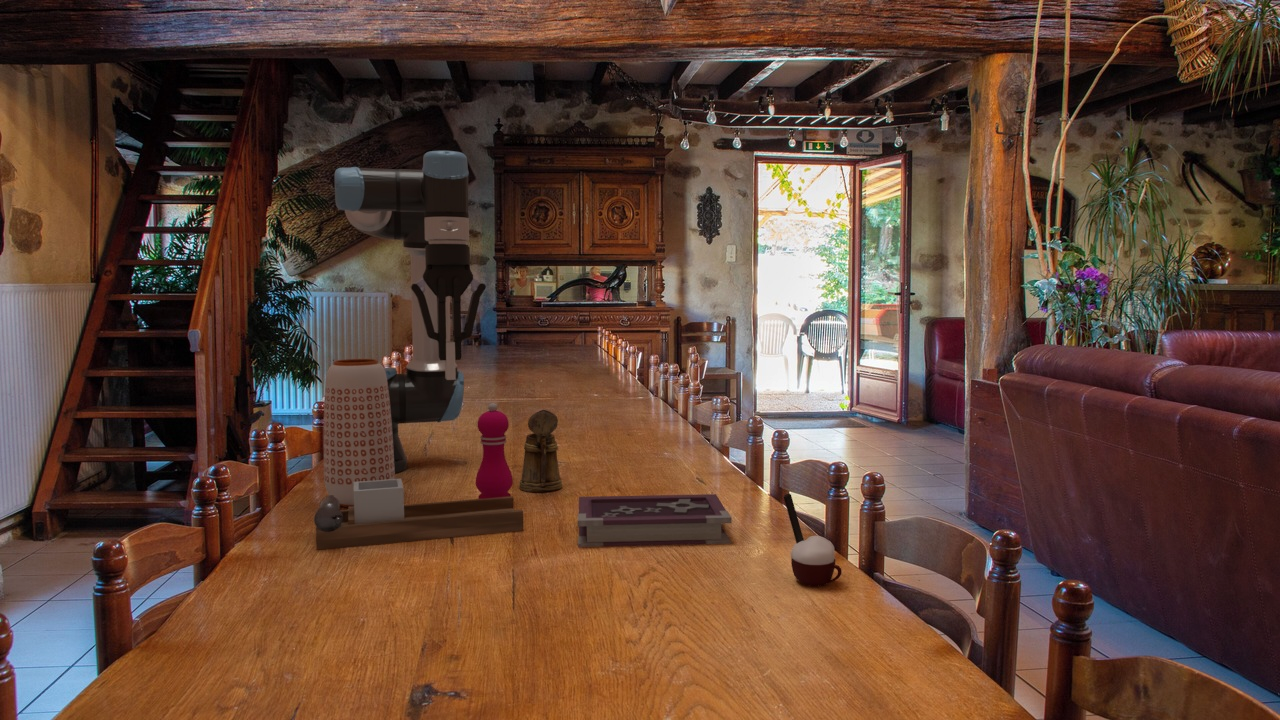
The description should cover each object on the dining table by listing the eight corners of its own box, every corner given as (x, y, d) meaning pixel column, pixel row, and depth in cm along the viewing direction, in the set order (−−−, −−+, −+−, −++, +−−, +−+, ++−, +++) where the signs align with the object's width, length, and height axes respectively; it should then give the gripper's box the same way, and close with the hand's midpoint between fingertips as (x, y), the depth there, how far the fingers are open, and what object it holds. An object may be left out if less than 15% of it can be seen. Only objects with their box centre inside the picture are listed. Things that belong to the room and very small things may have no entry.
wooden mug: (522, 499, 174) (520, 410, 172) (518, 483, 187) (516, 401, 185) (566, 497, 176) (565, 408, 174) (559, 481, 189) (558, 399, 187)
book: (578, 550, 142) (577, 520, 142) (578, 523, 158) (578, 496, 158) (731, 547, 144) (731, 517, 143) (716, 520, 160) (716, 493, 159)
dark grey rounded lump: (317, 524, 151) (316, 492, 150) (344, 522, 152) (343, 490, 152) (314, 545, 139) (313, 510, 139) (343, 542, 140) (342, 508, 140)
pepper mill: (505, 509, 166) (503, 406, 164) (470, 507, 168) (467, 405, 166) (518, 500, 173) (516, 400, 171) (484, 498, 175) (482, 399, 173)
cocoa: (847, 591, 123) (853, 509, 122) (809, 596, 121) (815, 512, 119) (809, 568, 132) (815, 491, 130) (774, 572, 129) (779, 493, 128)
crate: (355, 521, 152) (353, 481, 151) (402, 517, 154) (401, 478, 154) (355, 532, 145) (353, 491, 144) (404, 528, 147) (403, 487, 147)
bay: (319, 531, 152) (318, 507, 152) (512, 514, 162) (512, 492, 162) (316, 549, 142) (315, 524, 141) (523, 530, 152) (523, 506, 152)
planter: (384, 510, 165) (380, 363, 163) (314, 511, 165) (308, 364, 163) (403, 493, 179) (399, 357, 176) (338, 494, 179) (333, 357, 176)
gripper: (409, 242, 144) (413, 383, 147) (488, 242, 148) (491, 379, 151) (407, 243, 151) (410, 377, 154) (482, 244, 155) (484, 375, 158)
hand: (450, 378), depth 152 cm, fingers closed
